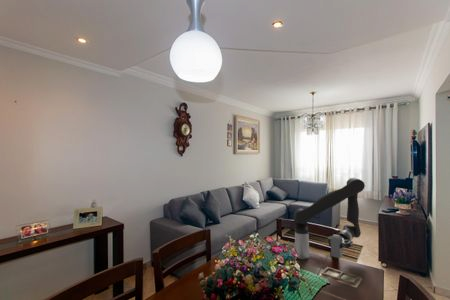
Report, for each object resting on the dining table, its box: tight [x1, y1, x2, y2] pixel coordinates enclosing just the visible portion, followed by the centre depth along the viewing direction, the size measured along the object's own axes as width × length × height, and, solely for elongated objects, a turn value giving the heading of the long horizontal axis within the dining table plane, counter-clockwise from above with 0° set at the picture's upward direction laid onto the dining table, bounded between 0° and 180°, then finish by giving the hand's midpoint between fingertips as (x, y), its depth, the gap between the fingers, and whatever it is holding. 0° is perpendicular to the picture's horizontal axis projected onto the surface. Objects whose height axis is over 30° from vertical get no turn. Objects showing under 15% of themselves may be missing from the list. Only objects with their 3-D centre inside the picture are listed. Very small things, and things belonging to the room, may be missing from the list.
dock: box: [318, 266, 363, 288], centre depth 135 cm, size 20×12×2 cm, turn 47°
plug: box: [330, 234, 344, 259], centre depth 136 cm, size 5×5×12 cm
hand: (335, 245), depth 134 cm, fingers closed on plug, 5 cm apart
